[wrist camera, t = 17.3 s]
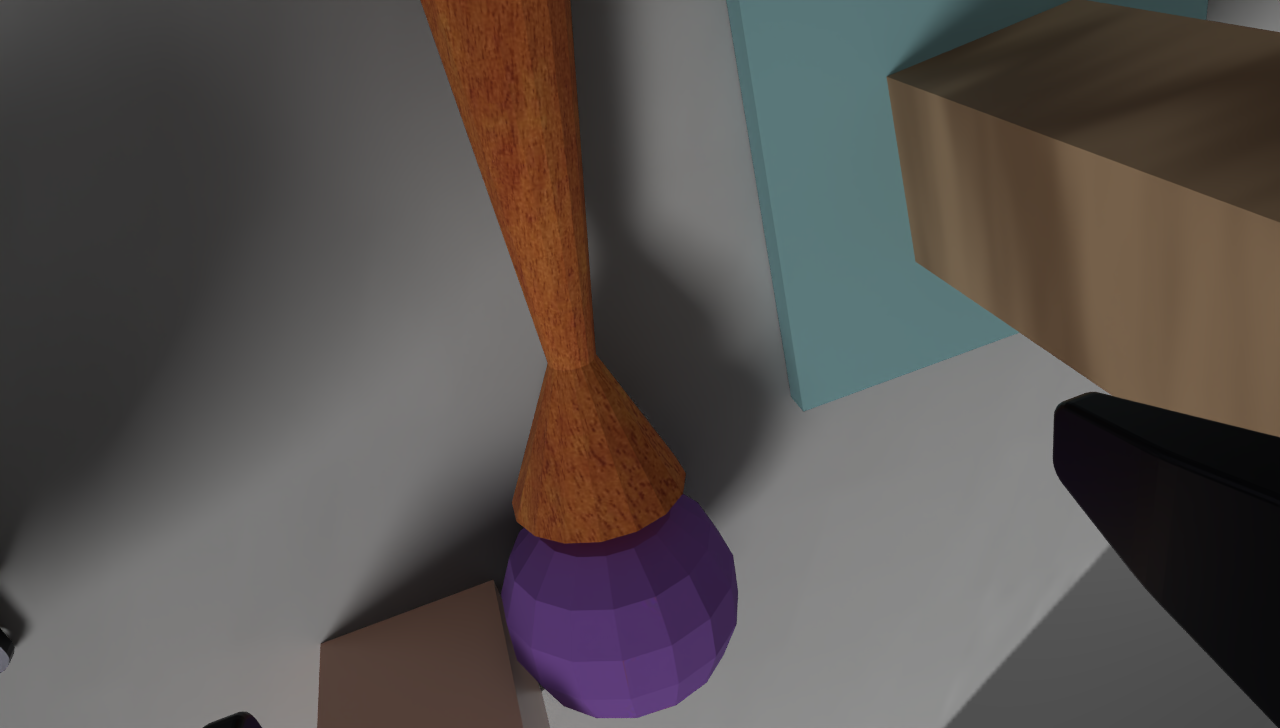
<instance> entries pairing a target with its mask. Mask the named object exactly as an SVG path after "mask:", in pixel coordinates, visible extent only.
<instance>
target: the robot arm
mask: <svg viewBox="0 0 1280 728" xmlns="http://www.w3.org/2000/svg"><path fill="white" fill-rule="evenodd" d="M1053 464H1054V468H1055V471H1056V474H1057V476H1058V477H1059V479H1060V481H1061V482H1062V484H1063V485H1064V486H1065V488H1066V489H1067V490H1068V491H1069V493H1070V494H1071V495H1072V497H1073V498H1074V499H1075V500H1076V502H1077V503H1078V504H1079V505H1080V507H1081V508H1082V509H1083V511H1084V512H1085V513H1086V514H1087V516H1088V517H1089V518H1090V520H1091V521H1092V522H1093V523H1094V525H1095V526H1096V527H1097V529H1098V530H1099V531H1100V532H1101V534H1102V535H1103V536H1104V538H1105V539H1106V540H1107V541H1108V543H1109V544H1110V545H1111V547H1112V548H1113V549H1114V550H1115V551H1116V553H1117V554H1118V555H1119V557H1120V558H1121V559H1122V561H1123V562H1124V563H1125V564H1126V566H1127V567H1128V568H1129V570H1130V571H1131V572H1132V573H1133V574H1134V576H1135V577H1136V578H1137V579H1138V580H1139V582H1140V583H1141V584H1142V585H1143V586H1144V587H1145V589H1146V590H1147V591H1148V592H1149V593H1150V594H1151V595H1152V596H1153V597H1154V598H1155V600H1156V601H1157V602H1158V603H1159V604H1160V605H1161V606H1162V607H1163V608H1164V609H1165V610H1166V611H1167V612H1168V613H1169V614H1170V616H1171V617H1172V618H1173V619H1174V620H1175V621H1176V622H1177V623H1178V624H1179V625H1180V626H1181V627H1182V628H1183V629H1184V630H1185V631H1186V632H1187V633H1188V634H1189V635H1190V636H1191V637H1192V638H1193V640H1194V641H1195V642H1196V643H1198V645H1199V646H1200V647H1201V648H1202V649H1203V650H1204V651H1205V652H1206V653H1207V654H1208V655H1209V656H1210V657H1211V658H1212V659H1213V660H1214V661H1215V662H1216V664H1217V665H1218V666H1219V667H1220V668H1221V669H1222V670H1223V671H1224V672H1225V673H1226V674H1227V675H1228V676H1229V677H1230V678H1231V679H1232V680H1233V681H1234V682H1235V683H1236V684H1237V685H1238V686H1239V687H1240V689H1241V690H1242V691H1243V692H1244V693H1245V694H1246V695H1247V696H1248V697H1249V698H1250V699H1251V700H1252V701H1253V702H1254V703H1255V704H1256V705H1257V706H1258V707H1259V708H1260V709H1261V710H1262V711H1263V713H1264V714H1265V715H1266V716H1267V717H1268V718H1269V719H1270V720H1271V721H1272V722H1273V723H1274V724H1275V725H1276V726H1277V727H1278V728H1280V437H1278V436H1273V435H1269V434H1265V433H1261V432H1257V431H1253V430H1249V429H1245V428H1241V427H1237V426H1233V425H1229V424H1225V423H1221V422H1216V421H1212V420H1208V419H1204V418H1200V417H1196V416H1192V415H1188V414H1184V413H1180V412H1176V411H1172V410H1168V409H1164V408H1159V407H1155V406H1151V405H1147V404H1143V403H1139V402H1135V401H1131V400H1127V399H1123V398H1119V397H1115V396H1111V395H1107V394H1102V393H1098V392H1088V393H1084V394H1082V395H1079V396H1076V397H1074V398H1071V399H1068V400H1066V401H1063V402H1061V403H1060V404H1059V405H1058V406H1057V408H1056V410H1055V412H1054V434H1053ZM14 648H15V647H14V645H13V643H12V641H11V640H10V639H9V638H8V637H7V636H6V634H5V633H4V632H3V631H2V630H1V629H0V673H1V672H3V671H5V669H6V668H7V667H8V665H9V663H10V661H11V659H12V656H13V654H14ZM203 728H262V727H261V726H260V724H259V723H258V721H257V720H256V719H255V718H254V717H253V716H252V715H251V714H250V713H248V712H238V713H235V714H233V715H230V716H227V717H225V718H222V719H219V720H217V721H214V722H212V723H209V724H208V725H206V726H204V727H203Z"/></svg>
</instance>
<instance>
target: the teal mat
mask: <svg viewBox="0 0 1280 728" xmlns="http://www.w3.org/2000/svg"><path fill="white" fill-rule="evenodd" d="M726 1H727V7H728V13H729V19H730V26H731V32H732V38H733V44H734V50H735V56H736V62H737V68H738V74H739V81H740V87H741V93H742V99H743V105H744V111H745V117H746V123H747V129H748V136H749V142H750V148H751V154H752V160H753V166H754V172H755V178H756V184H757V190H758V197H759V203H760V209H761V215H762V221H763V227H764V233H765V239H766V245H767V252H768V258H769V264H770V270H771V276H772V282H773V288H774V294H775V300H776V306H777V313H778V319H779V325H780V331H781V337H782V343H783V349H784V355H785V361H786V368H787V374H788V380H789V386H790V392H791V397H792V399H793V400H794V401H795V402H796V403H797V404H798V406H799V407H800V408H801V409H802V410H803V411H806V410H809V409H812V408H814V407H817V406H820V405H822V404H825V403H828V402H831V401H833V400H836V399H839V398H842V397H844V396H847V395H850V394H853V393H855V392H858V391H861V390H864V389H866V388H869V387H872V386H874V385H877V384H880V383H883V382H885V381H888V380H891V379H894V378H896V377H899V376H902V375H905V374H907V373H910V372H913V371H916V370H918V369H921V368H924V367H926V366H929V365H932V364H935V363H937V362H940V361H943V360H946V359H948V358H951V357H954V356H957V355H959V354H962V353H965V352H968V351H970V350H973V349H976V348H978V347H981V346H984V345H987V344H989V343H992V342H995V341H998V340H1000V339H1003V338H1006V337H1009V336H1011V335H1014V334H1017V333H1020V332H1018V331H1017V330H1015V329H1014V328H1012V327H1011V326H1009V325H1008V324H1006V323H1005V322H1003V321H1002V320H1001V319H999V318H998V317H996V316H995V315H993V314H992V313H990V312H989V311H987V310H986V309H984V308H983V307H981V306H980V305H978V304H977V303H976V302H974V301H973V300H971V299H970V298H968V297H967V296H965V295H964V294H962V293H961V292H959V291H958V290H956V289H955V288H953V287H952V286H951V285H949V284H948V283H946V282H945V281H943V280H942V279H940V278H939V277H937V276H936V275H934V274H933V273H931V272H930V271H928V270H927V269H926V268H924V267H923V266H921V265H920V264H918V263H917V262H915V255H914V249H913V242H912V236H911V230H910V223H909V217H908V211H907V204H906V198H905V192H904V185H903V179H902V172H901V166H900V160H899V153H898V147H897V141H896V134H895V128H894V122H893V115H892V109H891V102H890V96H889V90H888V83H887V76H889V75H891V74H894V73H896V72H899V71H901V70H904V69H906V68H908V67H911V66H913V65H916V64H918V63H921V62H923V61H925V60H928V59H930V58H933V57H935V56H937V55H940V54H942V53H945V52H947V51H950V50H952V49H954V48H957V47H959V46H962V45H964V44H967V43H969V42H971V41H974V40H976V39H979V38H981V37H984V36H986V35H988V34H991V33H993V32H996V31H998V30H1000V29H1003V28H1005V27H1008V26H1010V25H1013V24H1015V23H1017V22H1020V21H1022V20H1025V19H1027V18H1030V17H1032V16H1034V15H1037V14H1039V13H1042V12H1044V11H1046V10H1049V9H1051V8H1054V7H1056V6H1059V5H1061V4H1063V3H1066V2H1068V1H1071V0H726ZM1088 1H1094V2H1100V3H1106V4H1112V5H1118V6H1124V7H1130V8H1136V9H1142V10H1148V11H1154V12H1160V13H1166V14H1172V15H1178V16H1184V17H1190V18H1196V19H1202V20H1206V16H1207V7H1208V0H1088Z"/></svg>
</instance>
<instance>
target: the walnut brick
mask: <svg viewBox="0 0 1280 728" xmlns="http://www.w3.org/2000/svg"><path fill="white" fill-rule="evenodd" d="M887 83H888V90H889V96H890V102H891V109H892V115H893V122H894V128H895V134H896V141H897V147H898V153H899V160H900V166H901V172H902V179H903V185H904V192H905V198H906V204H907V211H908V217H909V223H910V230H911V236H912V242H913V249H914V255H915V262H917V263H918V264H920V265H921V266H923V267H924V268H926V269H927V270H928V271H930V272H931V273H933V274H934V275H936V276H937V277H939V278H940V279H942V280H943V281H945V282H946V283H948V284H949V285H951V286H952V287H953V288H955V289H956V290H958V291H959V292H961V293H962V294H964V295H965V296H967V297H968V298H970V299H971V300H973V301H974V302H976V303H977V304H978V305H980V306H981V307H983V308H984V309H986V310H987V311H989V312H990V313H992V314H993V315H995V316H996V317H998V318H999V319H1001V320H1002V321H1003V322H1005V323H1006V324H1008V325H1009V326H1011V327H1012V328H1014V329H1015V330H1017V331H1018V332H1020V333H1021V334H1023V335H1024V336H1026V337H1027V338H1028V339H1030V340H1031V341H1033V342H1034V343H1036V344H1037V345H1039V346H1040V347H1042V348H1043V349H1045V350H1046V351H1048V352H1049V353H1051V354H1052V355H1053V356H1055V357H1056V358H1058V359H1059V360H1061V361H1062V362H1064V363H1065V364H1067V365H1068V366H1070V367H1071V368H1073V369H1074V370H1076V371H1077V372H1078V373H1080V374H1081V375H1083V376H1084V377H1086V378H1087V379H1089V380H1090V381H1092V382H1093V383H1095V384H1096V385H1098V386H1099V387H1101V388H1102V389H1103V390H1105V391H1106V392H1108V393H1109V394H1111V395H1112V396H1115V397H1119V398H1123V399H1127V400H1131V401H1135V402H1139V403H1143V404H1147V405H1151V406H1155V407H1159V408H1164V409H1168V410H1172V411H1176V412H1180V413H1184V414H1188V415H1192V416H1196V417H1200V418H1204V419H1208V420H1212V421H1216V422H1221V423H1225V424H1229V425H1233V426H1237V427H1241V428H1245V429H1249V430H1253V431H1257V432H1261V433H1265V434H1269V435H1273V436H1278V437H1280V32H1275V31H1269V30H1263V29H1257V28H1251V27H1245V26H1239V25H1233V24H1227V23H1221V22H1215V21H1208V20H1202V19H1196V18H1190V17H1184V16H1178V15H1172V14H1166V13H1160V12H1154V11H1148V10H1142V9H1136V8H1130V7H1124V6H1118V5H1112V4H1106V3H1100V2H1094V1H1088V0H1071V1H1068V2H1066V3H1063V4H1061V5H1059V6H1056V7H1054V8H1051V9H1049V10H1046V11H1044V12H1042V13H1039V14H1037V15H1034V16H1032V17H1030V18H1027V19H1025V20H1022V21H1020V22H1017V23H1015V24H1013V25H1010V26H1008V27H1005V28H1003V29H1000V30H998V31H996V32H993V33H991V34H988V35H986V36H984V37H981V38H979V39H976V40H974V41H971V42H969V43H967V44H964V45H962V46H959V47H957V48H954V49H952V50H950V51H947V52H945V53H942V54H940V55H937V56H935V57H933V58H930V59H928V60H925V61H923V62H921V63H918V64H916V65H913V66H911V67H908V68H906V69H904V70H901V71H899V72H896V73H894V74H891V75H889V76H887Z"/></svg>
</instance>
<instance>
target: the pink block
mask: <svg viewBox="0 0 1280 728" xmlns="http://www.w3.org/2000/svg"><path fill="white" fill-rule="evenodd" d="M317 728H550V725H549V721H548V717H547V713H546V708H545V704H544V700H543V696H542V691H541V689H540V687H539V684H538V682H537V680H536V679H535V678H534V677H533V676H532V675H531V674H530V673H529V672H528V671H527V670H526V669H525V668H524V667H523V666H522V665H521V664H520V663H519V662H518V661H517V658H516V655H515V651H514V648H513V644H512V641H511V637H510V634H509V630H508V627H507V623H506V618H505V612H504V607H503V602H502V599H501V596H500V594H499V592H498V589H497V587H496V585H495V582H494V580H491V581H488V582H485V583H483V584H480V585H477V586H475V587H472V588H469V589H467V590H464V591H461V592H459V593H456V594H453V595H450V596H448V597H445V598H442V599H440V600H437V601H434V602H432V603H429V604H426V605H424V606H421V607H418V608H416V609H413V610H410V611H407V612H405V613H402V614H399V615H397V616H394V617H391V618H389V619H386V620H383V621H381V622H378V623H375V624H372V625H370V626H367V627H364V628H362V629H359V630H356V631H354V632H351V633H348V634H346V635H343V636H340V637H337V638H335V639H332V640H329V641H327V642H324V643H321V647H320V672H319V697H318V722H317Z"/></svg>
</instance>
